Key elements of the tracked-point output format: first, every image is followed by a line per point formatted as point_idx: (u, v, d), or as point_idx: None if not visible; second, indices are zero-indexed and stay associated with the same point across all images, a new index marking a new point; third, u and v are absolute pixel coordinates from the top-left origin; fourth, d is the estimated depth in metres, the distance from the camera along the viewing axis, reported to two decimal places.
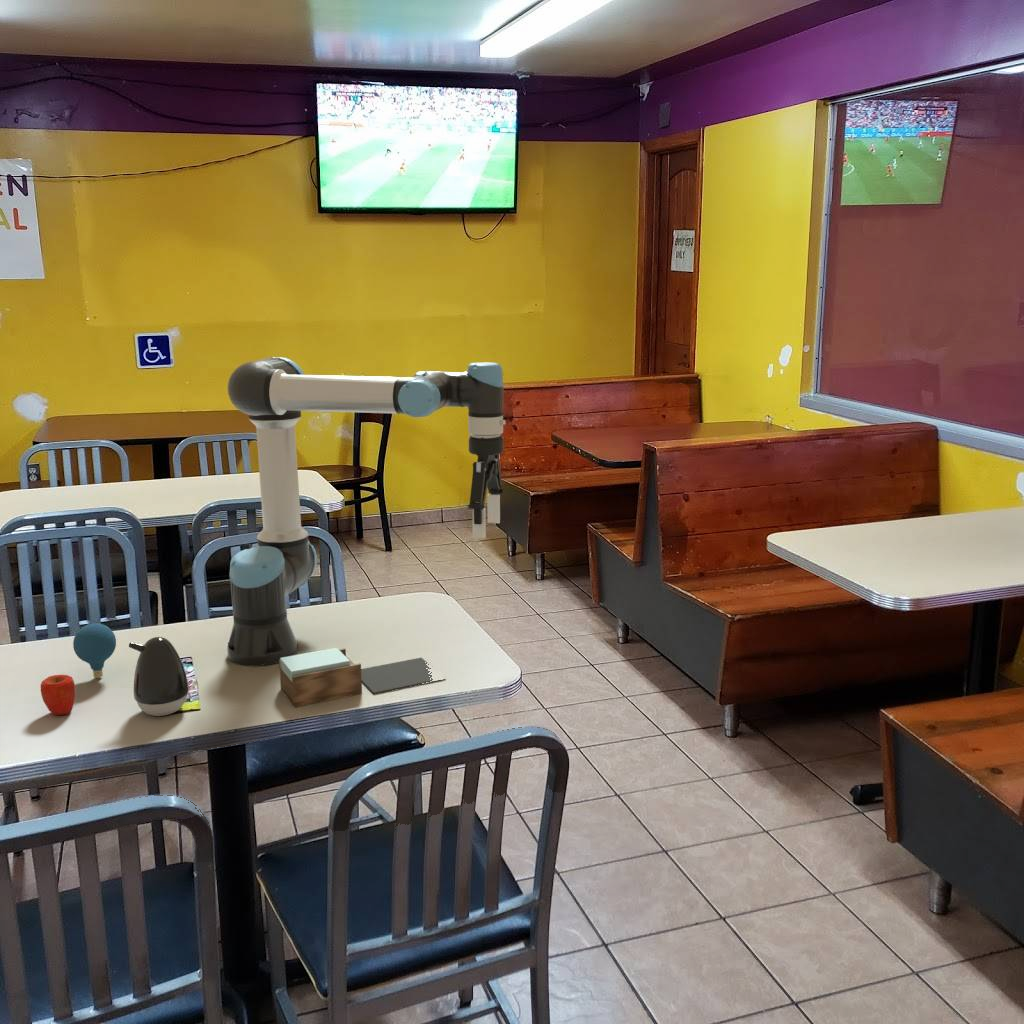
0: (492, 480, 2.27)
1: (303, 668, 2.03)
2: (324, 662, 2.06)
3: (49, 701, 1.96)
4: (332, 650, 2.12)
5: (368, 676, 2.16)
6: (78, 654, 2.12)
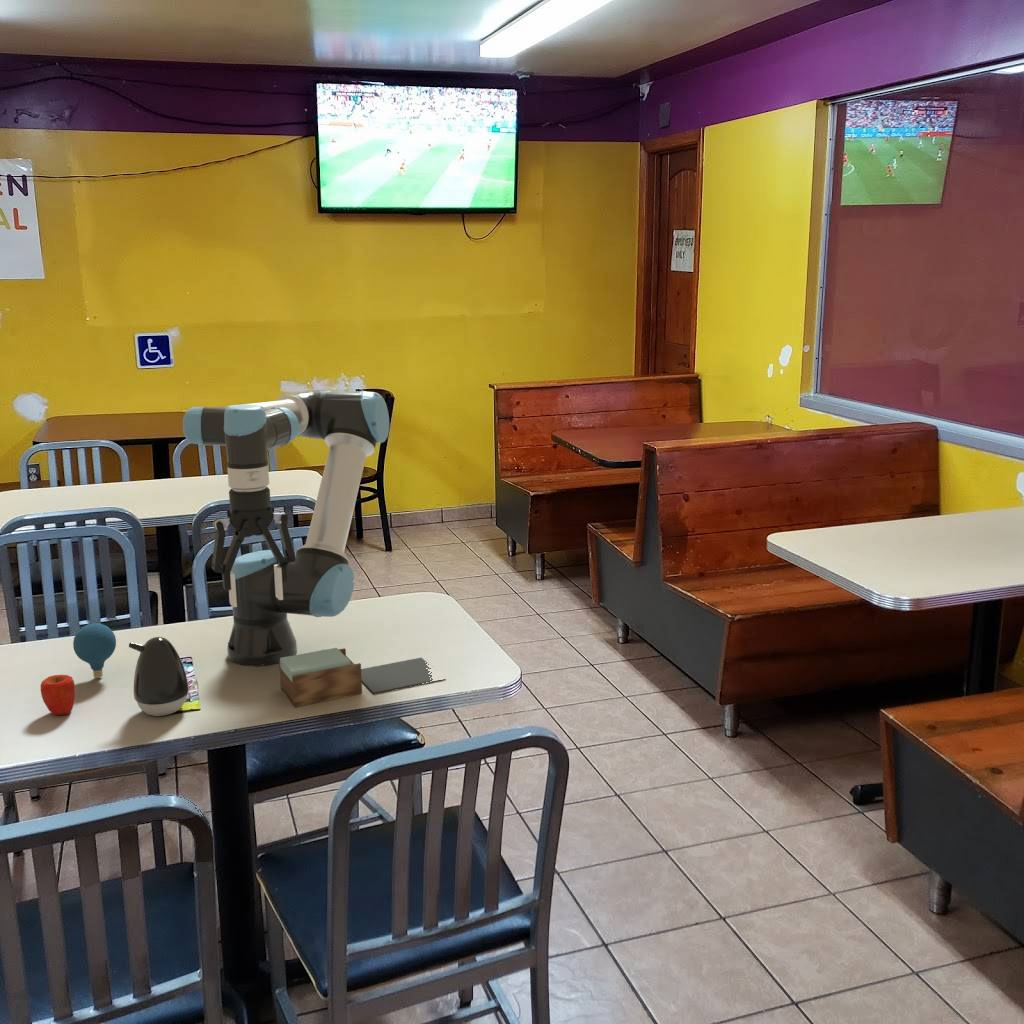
0: (268, 544, 1.97)
1: (303, 668, 2.03)
2: (324, 662, 2.06)
3: (49, 701, 1.96)
4: (332, 650, 2.12)
5: (368, 676, 2.16)
6: (78, 654, 2.12)
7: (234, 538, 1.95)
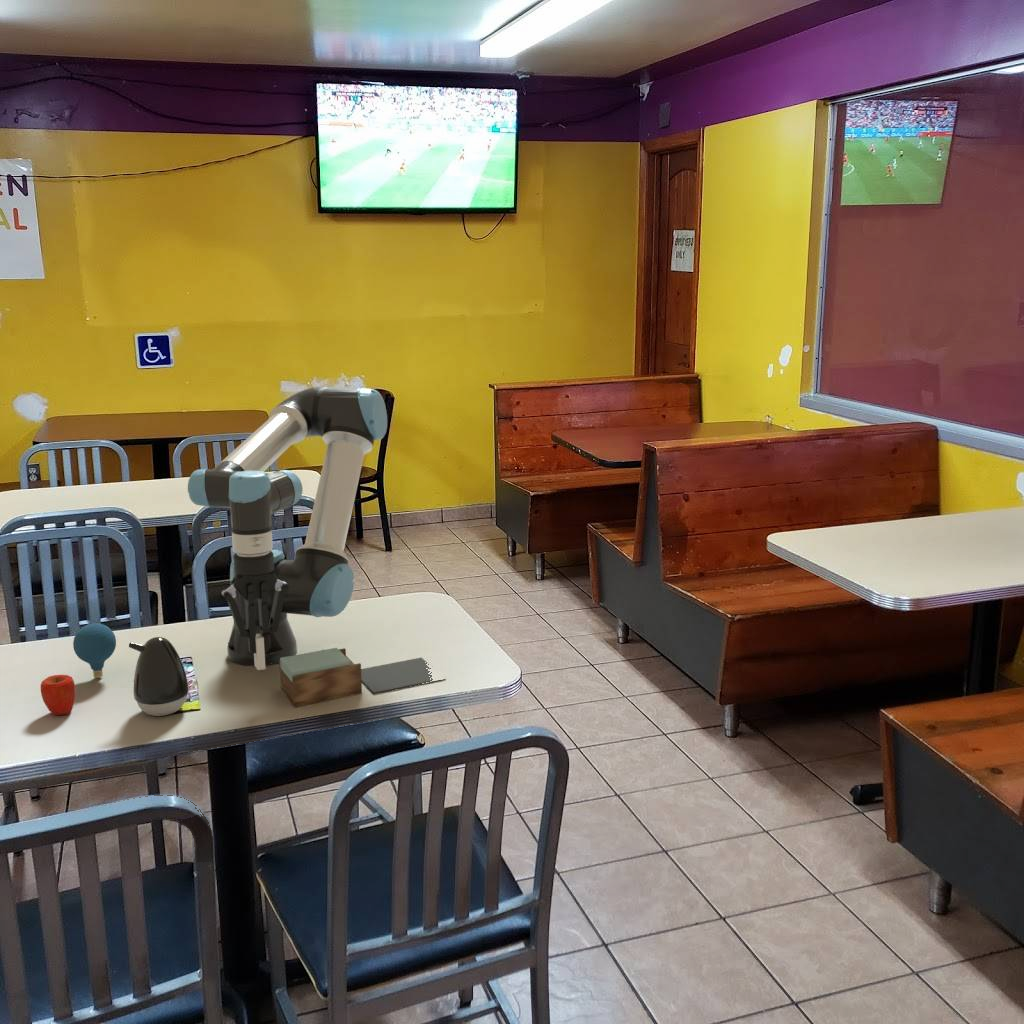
0: (260, 610, 1.99)
1: (303, 668, 2.03)
2: (324, 662, 2.06)
3: (49, 701, 1.96)
4: (332, 650, 2.12)
5: (368, 676, 2.16)
6: (78, 654, 2.12)
7: (246, 603, 1.98)
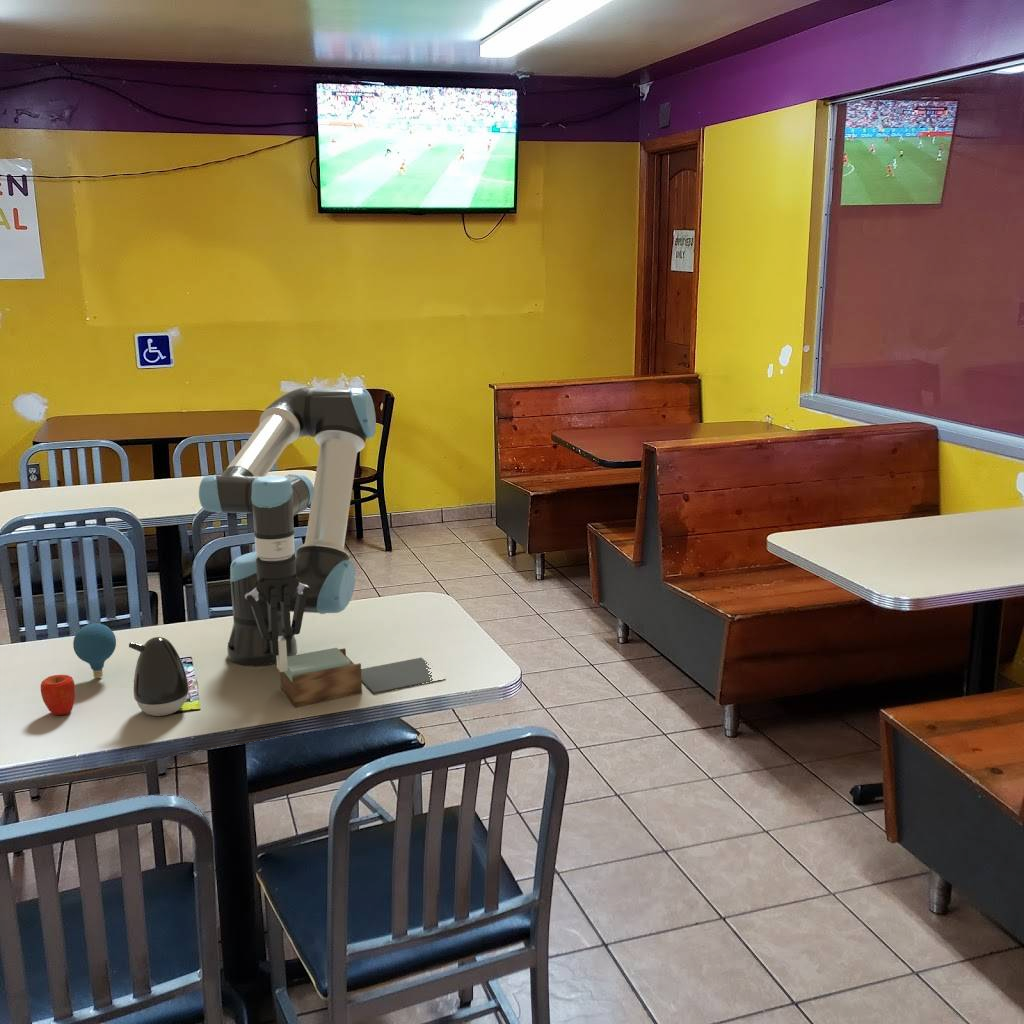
0: (282, 613, 2.02)
1: (303, 668, 2.03)
2: (324, 662, 2.06)
3: (49, 701, 1.96)
4: (332, 650, 2.12)
5: (368, 676, 2.16)
6: (78, 654, 2.12)
7: (268, 606, 2.01)
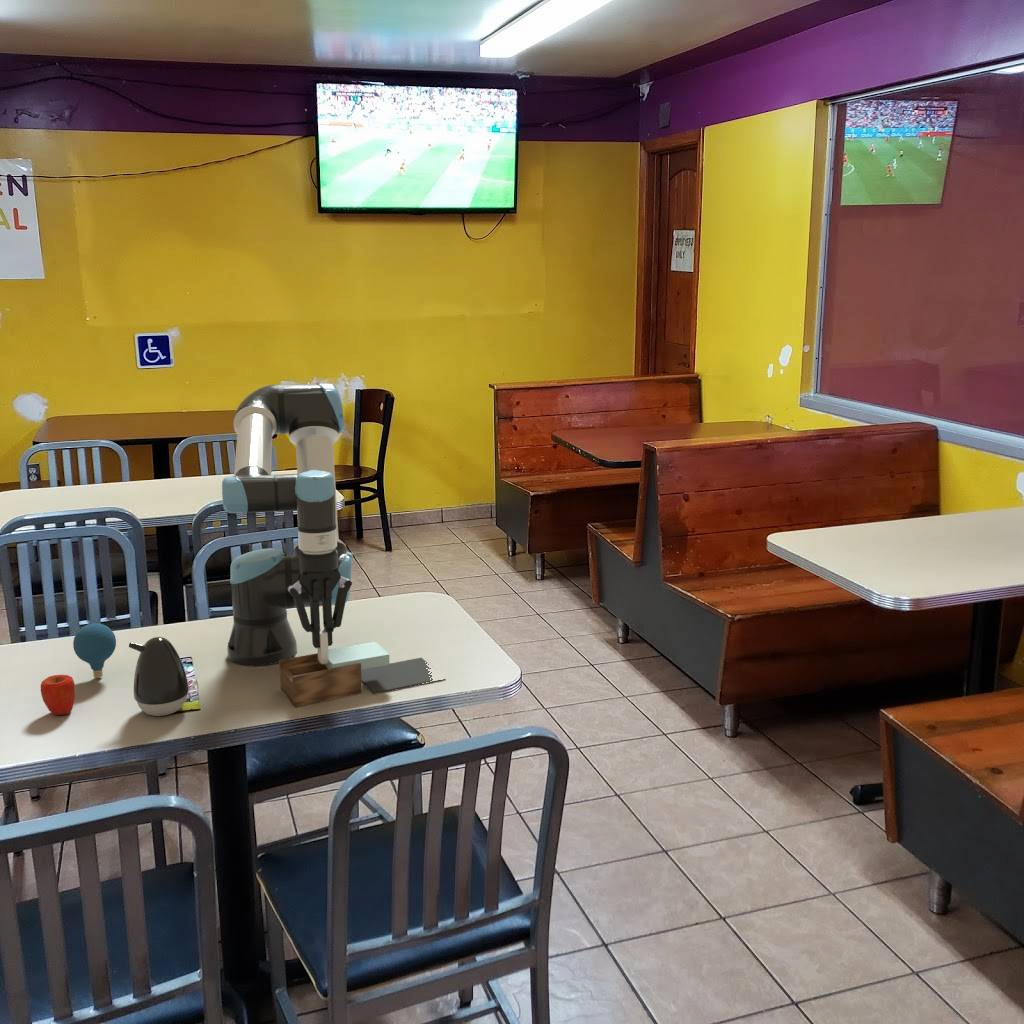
0: (324, 606, 2.05)
1: (344, 661, 2.06)
2: (364, 655, 2.09)
3: (49, 701, 1.96)
4: (372, 644, 2.16)
5: (368, 676, 2.16)
6: (78, 654, 2.12)
7: (311, 599, 2.04)
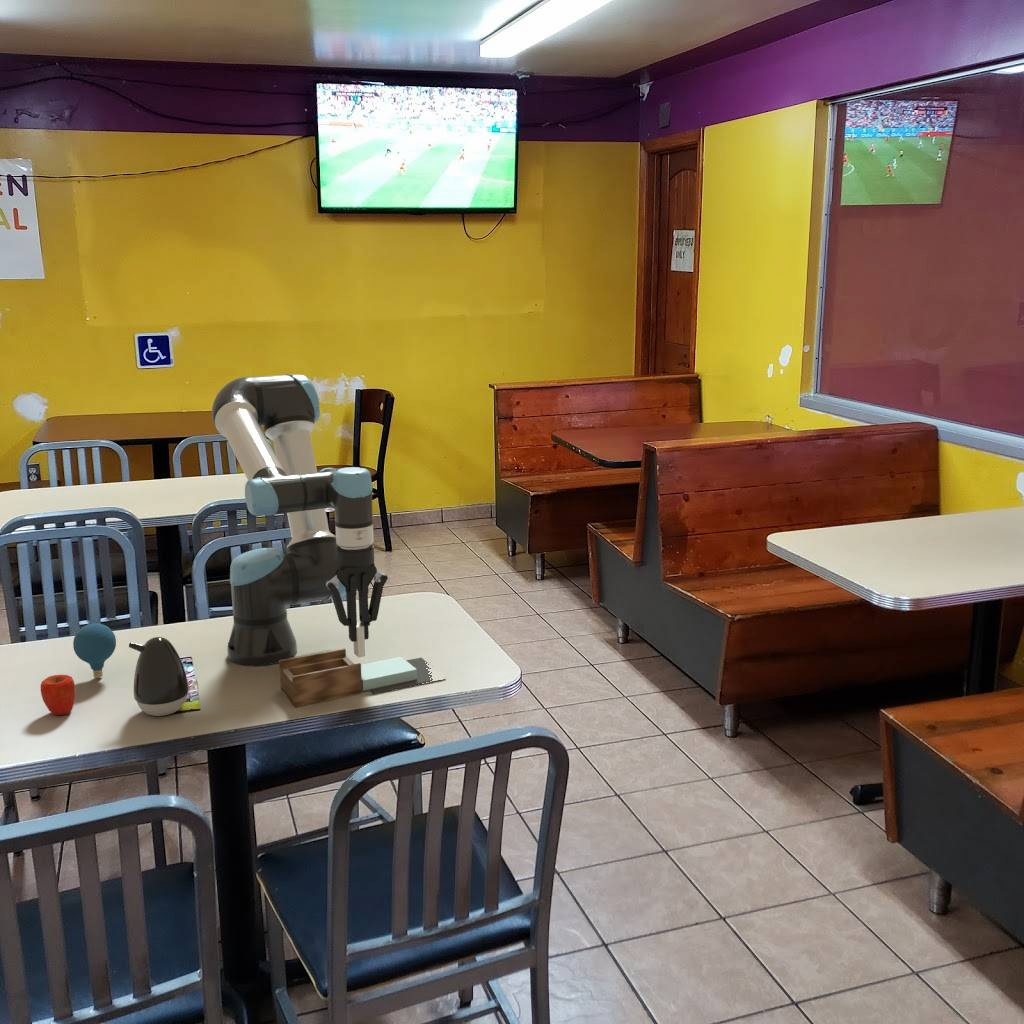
0: (361, 600, 2.09)
1: (373, 677, 2.10)
2: (392, 671, 2.13)
3: (49, 701, 1.96)
4: (398, 659, 2.20)
5: None
6: (78, 654, 2.12)
7: (347, 594, 2.08)
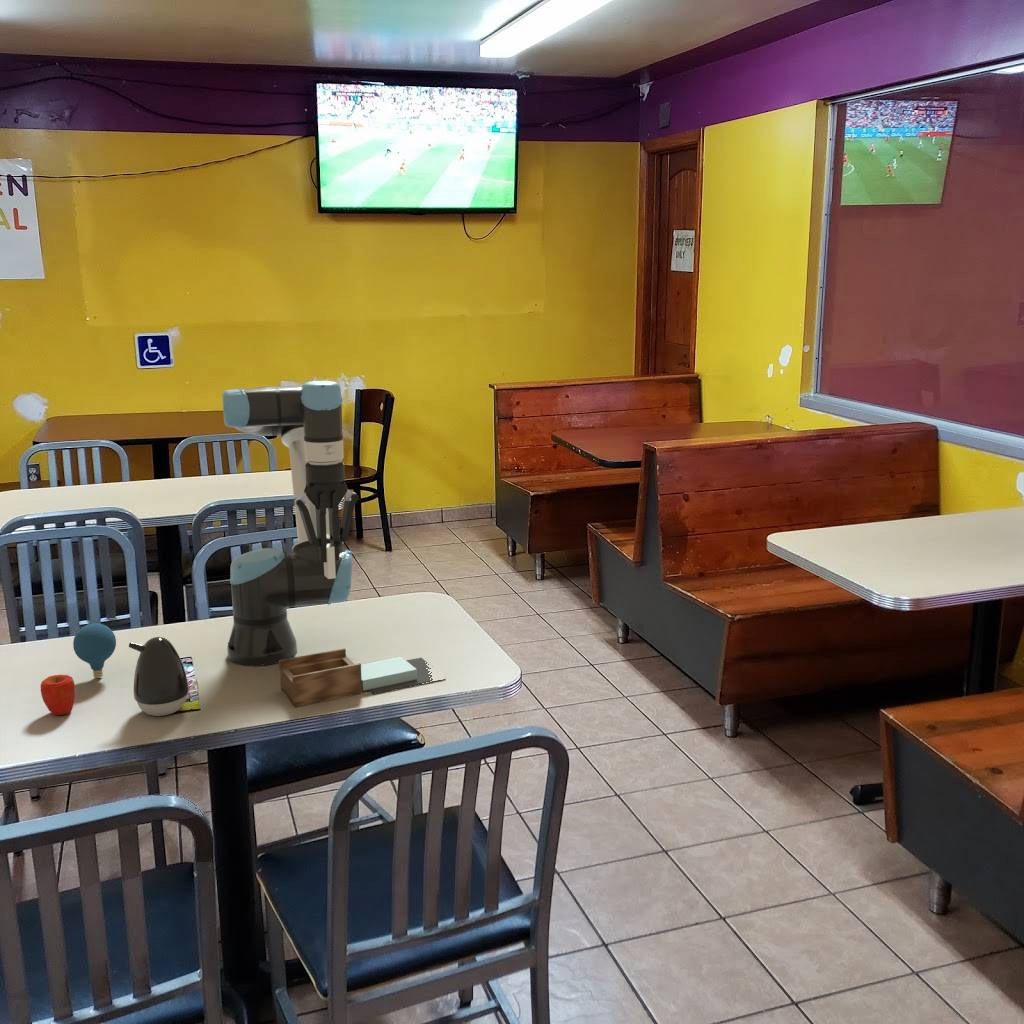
0: (331, 519, 2.02)
1: (373, 677, 2.10)
2: (392, 671, 2.13)
3: (49, 701, 1.96)
4: (398, 659, 2.20)
5: None
6: (78, 654, 2.12)
7: (317, 512, 2.01)
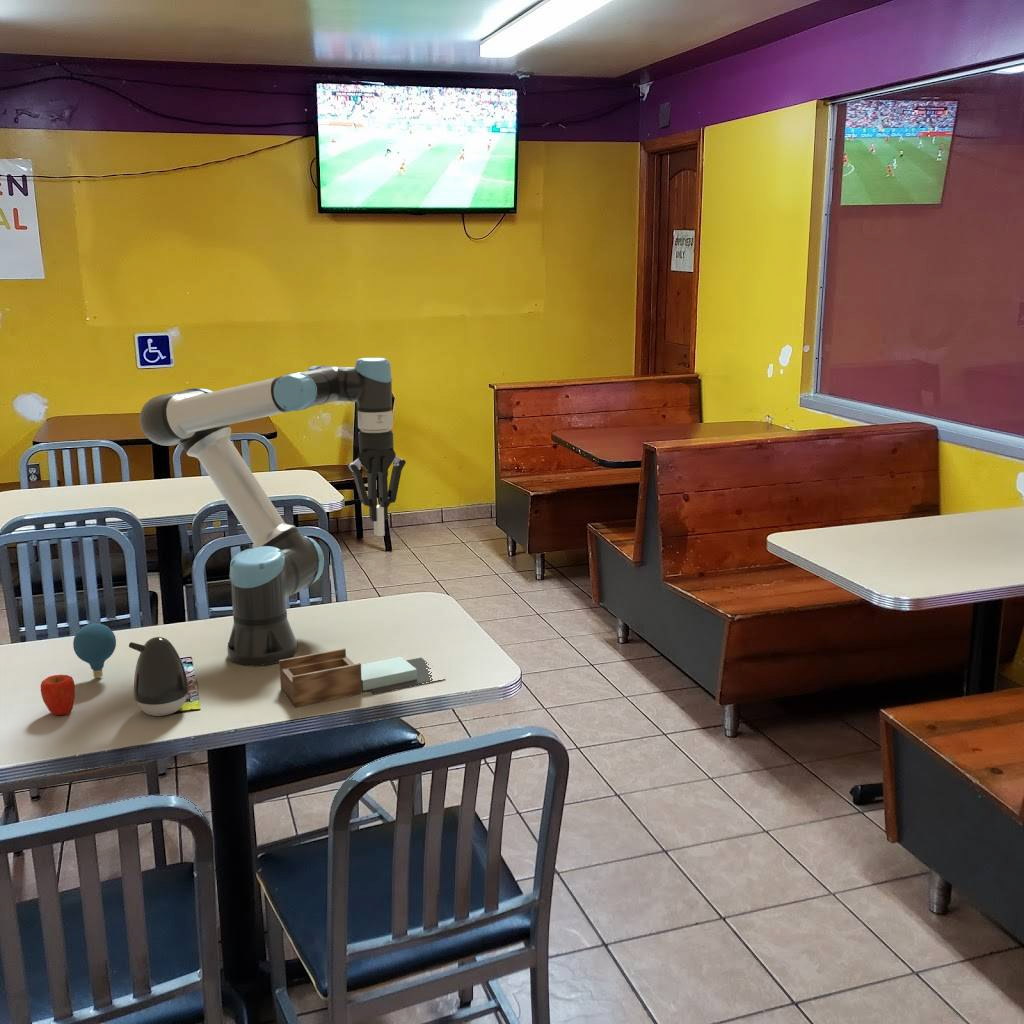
0: (381, 482, 2.25)
1: (373, 677, 2.10)
2: (392, 671, 2.13)
3: (49, 701, 1.96)
4: (398, 659, 2.20)
5: None
6: (78, 654, 2.12)
7: (368, 476, 2.24)
